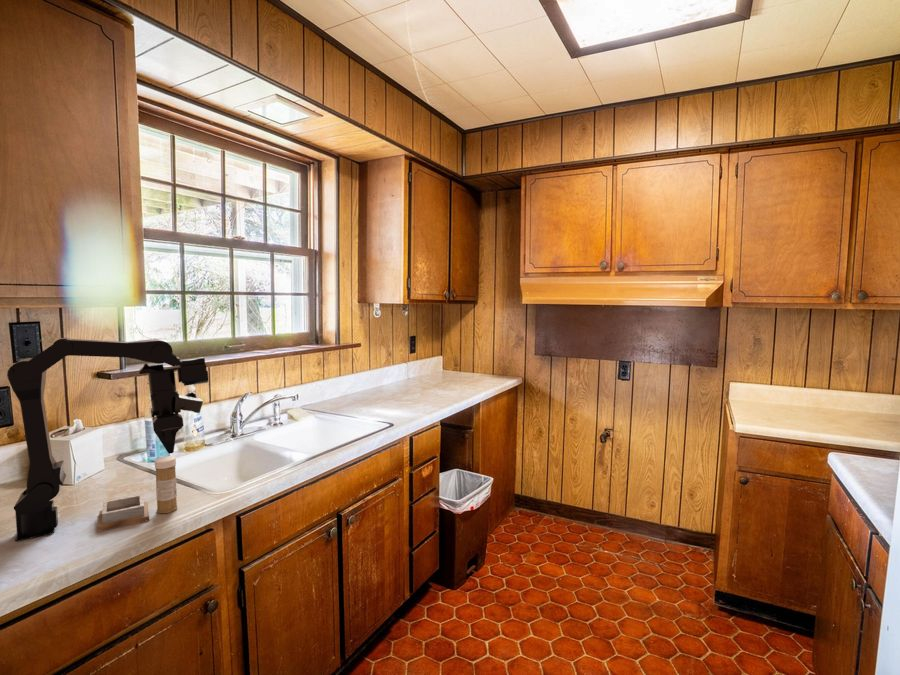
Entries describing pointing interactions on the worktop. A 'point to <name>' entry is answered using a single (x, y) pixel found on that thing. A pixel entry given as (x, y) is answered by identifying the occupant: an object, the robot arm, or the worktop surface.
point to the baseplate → (123, 522)
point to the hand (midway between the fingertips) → (169, 448)
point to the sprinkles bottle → (166, 484)
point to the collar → (122, 509)
